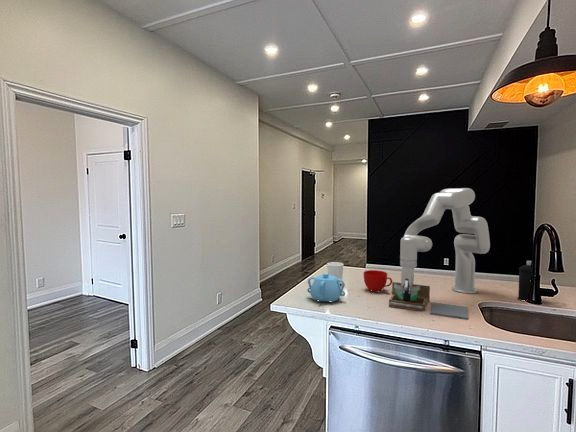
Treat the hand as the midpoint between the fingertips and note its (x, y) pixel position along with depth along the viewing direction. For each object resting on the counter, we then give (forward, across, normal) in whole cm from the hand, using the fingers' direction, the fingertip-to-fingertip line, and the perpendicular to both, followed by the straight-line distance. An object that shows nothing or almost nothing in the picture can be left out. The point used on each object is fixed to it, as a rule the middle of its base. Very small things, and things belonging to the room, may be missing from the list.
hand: (407, 298), depth 157 cm
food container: (+3, 0, 0) cm, 4 cm away
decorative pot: (+3, +9, -39) cm, 40 cm away
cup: (+3, -20, -44) cm, 48 cm away
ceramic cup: (+3, -18, -18) cm, 26 cm away
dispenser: (+3, -2, 0) cm, 4 cm away
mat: (+3, 0, +18) cm, 18 cm away
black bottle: (+3, -35, +53) cm, 64 cm away
